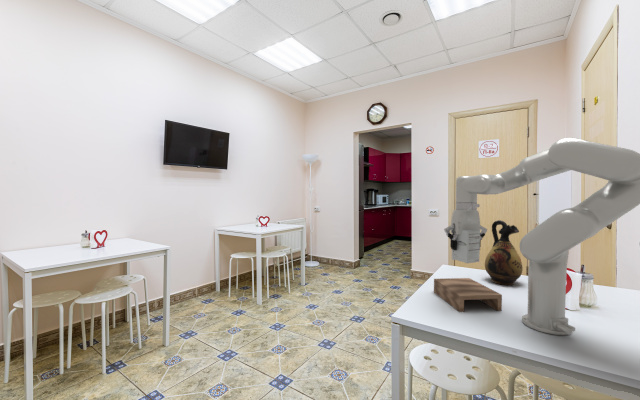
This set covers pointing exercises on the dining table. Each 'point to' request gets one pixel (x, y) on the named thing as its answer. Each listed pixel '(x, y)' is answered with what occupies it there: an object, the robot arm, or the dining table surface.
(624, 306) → the dining table surface
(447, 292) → the walnut shelf
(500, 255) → the ceramic jug
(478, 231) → the supplement box
